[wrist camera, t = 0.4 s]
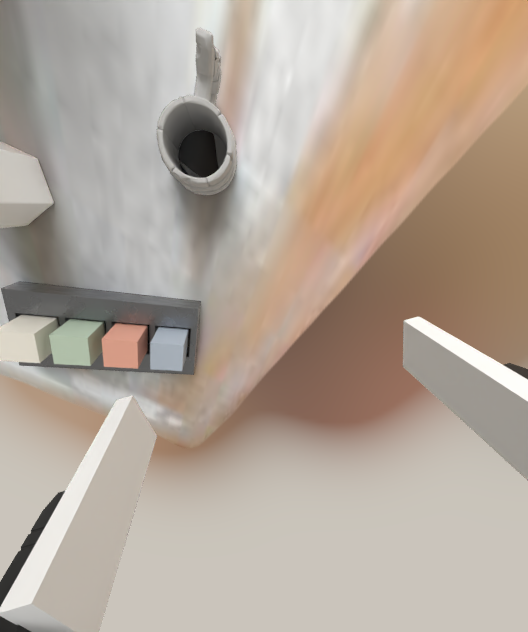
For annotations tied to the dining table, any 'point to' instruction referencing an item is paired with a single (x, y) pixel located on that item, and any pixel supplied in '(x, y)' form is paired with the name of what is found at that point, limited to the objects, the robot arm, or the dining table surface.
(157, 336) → the key slate
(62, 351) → the key sage
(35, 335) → the key ivory
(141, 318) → the key panel
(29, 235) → the dining table surface
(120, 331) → the key coral
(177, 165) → the mug
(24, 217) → the jar
